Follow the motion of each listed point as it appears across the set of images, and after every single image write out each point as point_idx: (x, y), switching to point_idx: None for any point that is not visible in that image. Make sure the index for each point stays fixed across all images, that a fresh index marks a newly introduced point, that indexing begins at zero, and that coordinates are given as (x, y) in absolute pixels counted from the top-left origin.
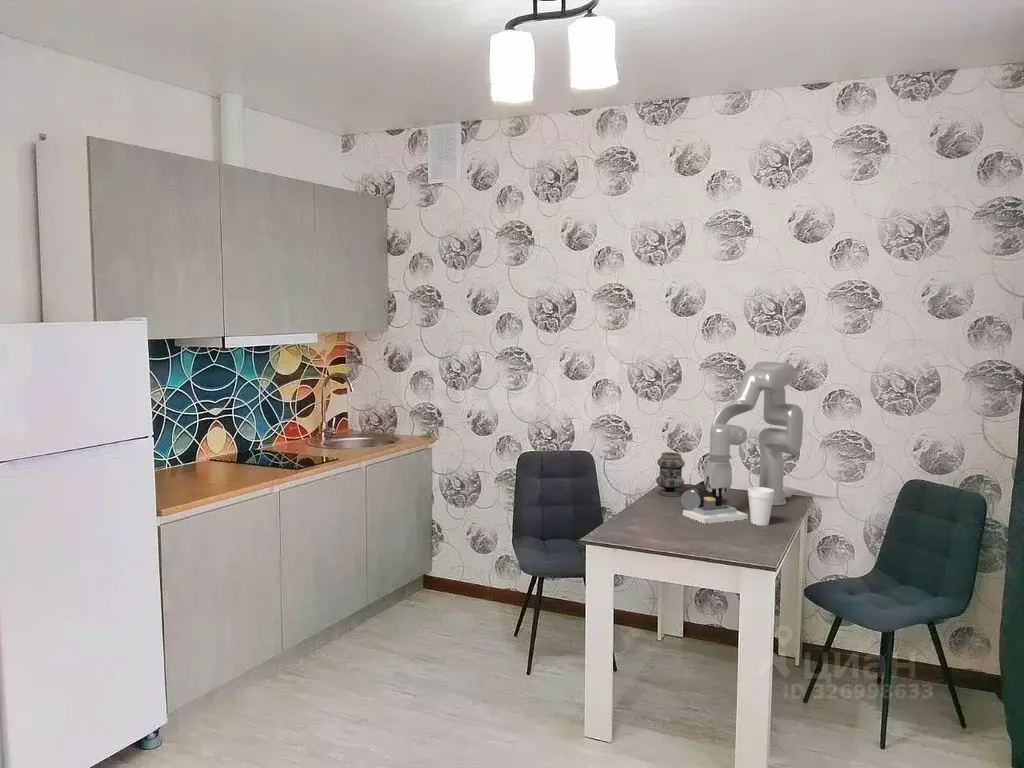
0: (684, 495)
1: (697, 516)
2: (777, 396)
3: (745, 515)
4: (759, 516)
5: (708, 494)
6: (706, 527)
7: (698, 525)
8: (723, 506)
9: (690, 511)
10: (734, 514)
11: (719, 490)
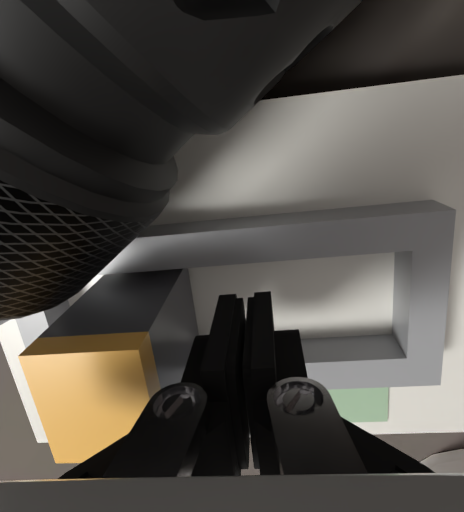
0: None
1: (12, 364)
2: None
3: (447, 426)
4: None
5: (239, 99)
6: (44, 473)
7: (8, 428)
8: (379, 251)
9: None
10: (348, 416)
11: (311, 463)
